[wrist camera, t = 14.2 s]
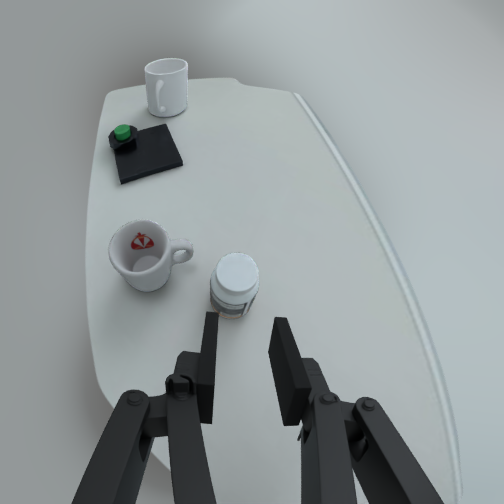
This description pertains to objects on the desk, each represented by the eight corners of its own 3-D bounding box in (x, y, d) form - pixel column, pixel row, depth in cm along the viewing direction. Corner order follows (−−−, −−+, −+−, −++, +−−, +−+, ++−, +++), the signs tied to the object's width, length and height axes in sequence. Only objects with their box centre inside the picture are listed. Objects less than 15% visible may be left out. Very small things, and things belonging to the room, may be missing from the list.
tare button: (116, 142, 48) (115, 135, 47) (114, 133, 49) (113, 127, 48) (131, 137, 49) (130, 131, 48) (129, 129, 50) (128, 122, 49)
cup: (189, 241, 43) (187, 209, 36) (200, 289, 40) (198, 264, 33) (121, 254, 40) (107, 224, 33) (126, 303, 37) (109, 281, 30)
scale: (118, 185, 46) (114, 174, 44) (110, 141, 52) (107, 130, 49) (182, 165, 50) (182, 153, 48) (165, 125, 56) (164, 114, 53)
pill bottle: (230, 274, 41) (236, 238, 33) (259, 300, 40) (274, 271, 31) (201, 300, 39) (199, 269, 30) (231, 328, 38) (238, 306, 29)
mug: (186, 96, 62) (187, 56, 52) (188, 122, 57) (189, 77, 47) (149, 100, 60) (146, 60, 50) (146, 127, 55) (141, 82, 45)
